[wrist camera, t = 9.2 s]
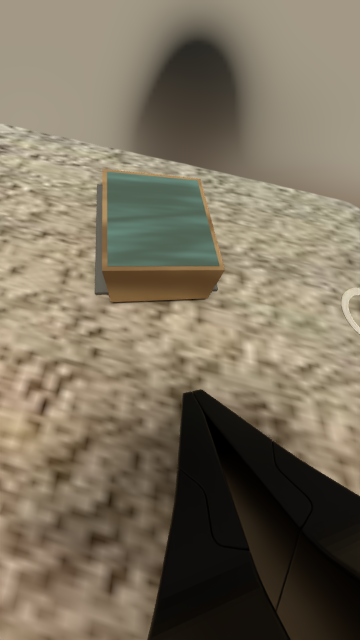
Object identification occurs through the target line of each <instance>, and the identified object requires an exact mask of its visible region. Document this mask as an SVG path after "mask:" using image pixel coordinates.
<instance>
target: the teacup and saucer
mask: <svg viewBox="0 0 360 640" xmlns="http://www.w3.org/2000/svg"><path fill="white" fill-rule="evenodd" d="M354 295H360V288H352V289H349V290H347V291H346V292H345V293H344V294H343V296H342V300H341V306H342V310H343V313H344V315H345V317H346V319H347V321H348V322H349V324H350V325H351V326H352V328H353V329H354V330H355V331H356V332H357V333H358V334H360V327H359V326H358V325H357V324H356V323H355V321H354V320H353V318H352V317H351V315H350V312H349V308H348V303H349V300H350V298H351V297H352V296H354Z"/></svg>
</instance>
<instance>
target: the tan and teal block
mask: <svg viewBox="0 0 360 640" xmlns="http://www.w3.org/2000/svg"><path fill="white" fill-rule="evenodd" d="M224 271H225V269H224V265H223V261H222V258H221V254H220V250H219V247H218V243H217V239H216V235H215V232H214V228H213V224H212V221H211V217H210V213H209V210H208V206H207V202H206V198H205V195H204V191H203V187H202V184H201V180H200V179H197V178H187V177H177V176H167V175H157V174H147V173H137V172H127V171H117V170H108V169H103V197H102V273H103V276H104V280H105V283H106V286H107V290H108V293H109V297H110V300H111V302H125V301H152V300H178V299H204V298H208V296H209V295H210V293H211V292H212V290H213V288H214V287H215V285H216V284H217V282H218V280H219V279H220V277H221V275H222V274H223V272H224Z"/></svg>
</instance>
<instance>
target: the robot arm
mask: <svg viewBox="0 0 360 640" xmlns="http://www.w3.org/2000/svg"><path fill="white" fill-rule="evenodd" d="M177 469H178V470H177V479H176V490H175V500H174V507H173V513H172V519H171V525H170V531H169V536H168V541H167V547H166V552H165V557H164V562H163V568H162V573H161V578H160V584H159V589H158V594H157V599H156V604H155V609H154V613H153V618H152V622H151V627H150V631H149V635H148V639H147V640H360V496H359V495H357V494H355V493H354V492H352V491H350V490H349V489H347V488H346V487H344V486H342V485H341V484H339V483H337V482H336V481H334V480H332V479H331V478H329V477H327V476H326V475H324V474H322V473H321V472H319V471H318V470H316V469H314V468H313V467H311V466H310V465H308V464H307V463H305V462H303V461H302V460H300V459H299V458H297V457H296V456H294V455H293V454H291V453H290V452H288V451H287V450H286V449H284V448H283V447H281V446H280V445H279V444H277V443H276V442H274V441H272V440H271V439H270V438H269V437H267V436H266V435H264V434H263V433H262V432H260V431H259V430H258V429H256V428H255V427H253V426H252V425H251V424H249V423H248V422H246V421H245V420H244V419H242V418H241V417H239V416H238V415H237V414H235V413H234V412H232V411H231V410H230V409H228V408H227V407H226V406H224V405H223V404H221V403H220V402H219V401H217V400H216V399H214V398H213V397H212V396H210V395H209V394H207V393H206V392H205V391H203V390H201V389H200V390H195V391H193V392H186V393H183V396H182V410H181V424H180V438H179V453H178V467H177Z"/></svg>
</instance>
